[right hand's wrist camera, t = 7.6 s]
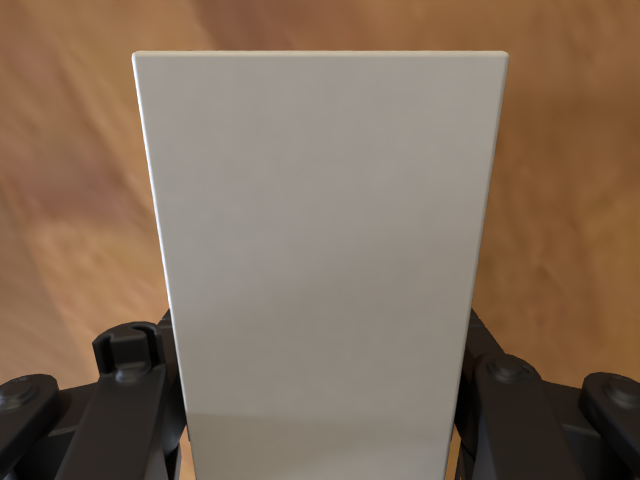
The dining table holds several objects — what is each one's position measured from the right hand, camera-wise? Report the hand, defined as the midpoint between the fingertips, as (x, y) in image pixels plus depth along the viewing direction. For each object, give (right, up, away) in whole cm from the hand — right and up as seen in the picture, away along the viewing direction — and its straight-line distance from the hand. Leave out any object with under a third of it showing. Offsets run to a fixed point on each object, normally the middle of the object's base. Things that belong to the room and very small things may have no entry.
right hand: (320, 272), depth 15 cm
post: (0, -22, +9) cm, 23 cm away
